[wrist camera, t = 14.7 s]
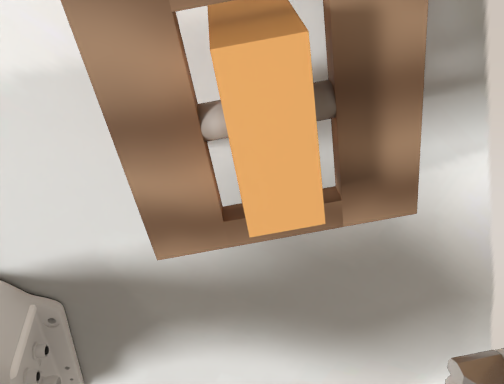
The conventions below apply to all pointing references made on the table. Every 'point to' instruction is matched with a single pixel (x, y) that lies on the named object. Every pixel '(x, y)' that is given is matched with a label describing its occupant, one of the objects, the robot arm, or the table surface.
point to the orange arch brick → (269, 112)
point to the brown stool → (214, 127)
